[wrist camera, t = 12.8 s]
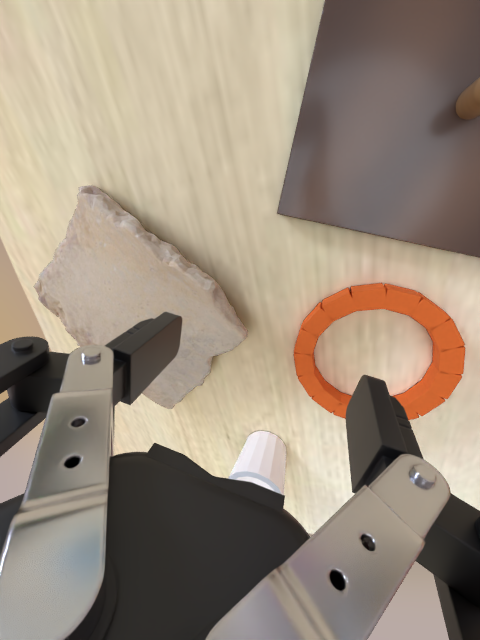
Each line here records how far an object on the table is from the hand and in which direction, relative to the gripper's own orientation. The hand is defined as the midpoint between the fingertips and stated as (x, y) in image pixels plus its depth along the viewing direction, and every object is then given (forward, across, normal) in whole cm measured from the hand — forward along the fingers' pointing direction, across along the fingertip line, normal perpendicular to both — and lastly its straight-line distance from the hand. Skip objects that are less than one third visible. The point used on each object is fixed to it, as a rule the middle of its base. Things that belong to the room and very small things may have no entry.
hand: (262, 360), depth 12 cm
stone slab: (+18, +16, +8) cm, 26 cm away
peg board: (+18, -6, -14) cm, 24 cm away
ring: (+17, -10, +7) cm, 21 cm away
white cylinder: (+17, -3, +25) cm, 30 cm away
